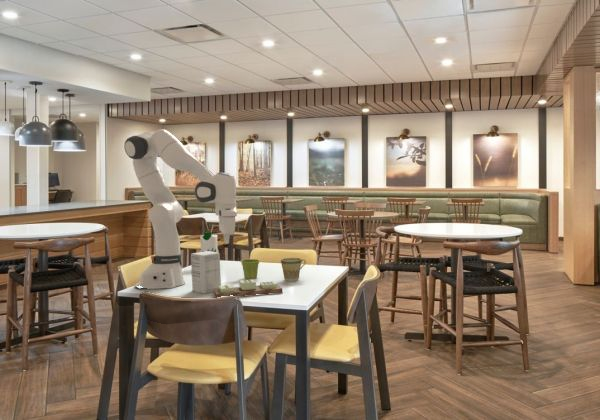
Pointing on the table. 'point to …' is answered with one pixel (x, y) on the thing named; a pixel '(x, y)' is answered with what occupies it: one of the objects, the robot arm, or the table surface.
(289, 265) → the ceramic cup
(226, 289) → the tile one
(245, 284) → the tile two
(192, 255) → the supplement box
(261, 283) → the tile three
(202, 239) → the milk carton
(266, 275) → the table surface
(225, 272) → the table surface
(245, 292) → the frame
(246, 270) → the plant pot
